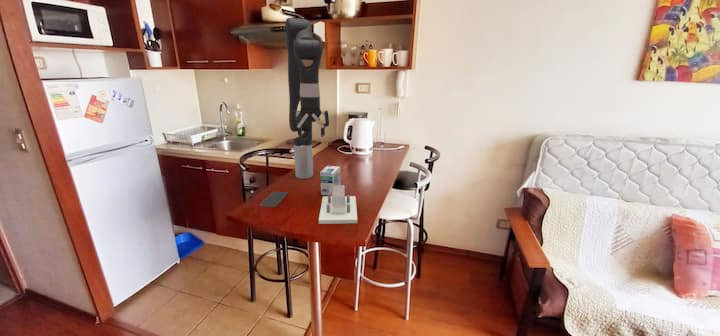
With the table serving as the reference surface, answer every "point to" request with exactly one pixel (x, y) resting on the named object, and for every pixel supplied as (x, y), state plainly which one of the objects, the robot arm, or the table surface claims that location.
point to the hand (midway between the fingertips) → (311, 136)
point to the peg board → (330, 218)
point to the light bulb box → (329, 179)
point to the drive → (338, 199)
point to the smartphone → (273, 199)
